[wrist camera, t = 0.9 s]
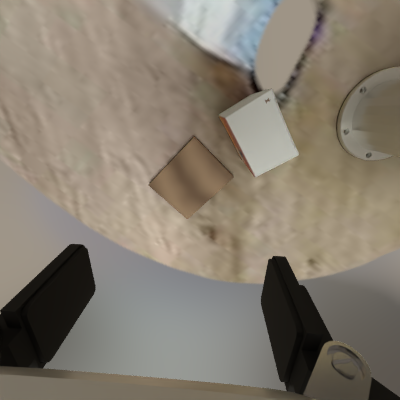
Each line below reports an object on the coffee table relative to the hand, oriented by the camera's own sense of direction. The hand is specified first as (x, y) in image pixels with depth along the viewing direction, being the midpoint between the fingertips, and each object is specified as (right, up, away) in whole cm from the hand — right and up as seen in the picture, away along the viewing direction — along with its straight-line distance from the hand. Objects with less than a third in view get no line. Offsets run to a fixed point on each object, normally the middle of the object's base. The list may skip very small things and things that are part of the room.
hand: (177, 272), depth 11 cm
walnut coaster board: (0, +7, +25) cm, 26 cm away
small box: (+8, +15, +22) cm, 28 cm away
